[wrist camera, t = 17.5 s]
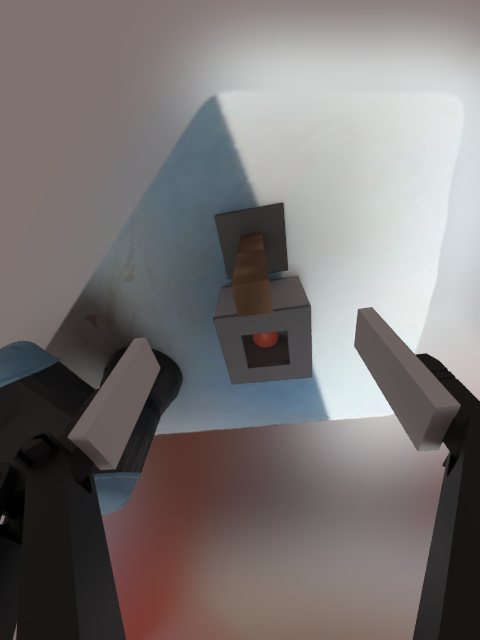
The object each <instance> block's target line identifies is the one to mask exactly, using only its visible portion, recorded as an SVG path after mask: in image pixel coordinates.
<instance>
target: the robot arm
mask: <svg viewBox="0 0 480 640" xmlns="http://www.w3.org/2000/svg"><path fill="white" fill-rule="evenodd" d="M354 346H355V348H356V350H357V351H358V353H359V355H360V356H361V358H362V360H363V361H364V363H365V365H366V366H367V368H368V370H369V371H370V373H371V375H372V376H373V378H374V380H375V381H376V383H377V385H378V386H379V388H380V390H381V391H382V393H383V395H384V396H385V398H386V400H387V401H388V403H389V405H390V406H391V408H392V410H393V411H394V413H395V415H396V416H397V418H398V419H399V421H400V423H401V424H402V426H403V428H404V429H405V431H406V433H407V434H408V436H409V438H410V439H411V441H412V443H413V444H414V446H415V448H416V449H417V451H429V450H439V448H440V446H441V444H442V442H444V444H445V445H446V446H447V448H448V449H449V451H450V452H449V454H448V456H447V458H446V460H445V461H444V463H443V465H442V466H444V467H445V473H444V478H443V483H442V489H441V494H440V499H439V504H438V509H437V515H436V520H435V525H434V531H433V536H432V541H431V546H430V551H429V557H428V562H427V567H426V573H425V578H424V583H423V588H422V594H421V599H420V604H419V609H418V615H417V620H416V625H415V630H414V636H413V640H480V401H479V400H478V399H477V398H476V397H475V396H474V395H473V394H472V393H471V392H470V391H469V390H468V389H467V388H466V387H465V386H464V385H463V384H462V383H461V382H460V381H459V380H458V379H456V378H455V376H454V375H453V374H452V373H451V372H450V371H448V369H447V368H446V367H445V366H444V365H443V364H442V363H441V362H440V361H439V360H437V359H435V358H433V357H432V356H430V355H428V354H417V355H415V354H414V353H413V352H412V351H411V350H410V349H409V347H408V346H407V345H406V344H405V343H404V342H403V341H402V340H401V339H400V337H399V336H398V335H397V334H396V333H395V332H394V331H393V330H392V329H391V328H390V326H389V325H388V324H387V323H386V322H385V321H384V320H383V319H382V318H381V316H380V315H379V314H378V313H377V312H376V311H375V310H374V309H373V308H372V307H370V308H362V309H358V315H357V324H356V334H355V343H354ZM59 361H60V359H59V358H57V357H53V356H52V355H50V354H49V353H48V352H46V351H45V350H43V349H42V348H40V347H39V346H38V345H36V344H34V343H32V342H28V341H18V342H14V343H12V344H10V345H7V346H5V347H3V348H1V349H0V519H1V516H2V515H3V516H5V519H4V522H3V523H2V525H1V524H0V640H13V636H14V632H15V628H16V624H17V635H16V640H126V638H125V633H124V627H123V622H122V617H121V612H120V607H119V602H118V597H117V592H116V587H115V582H114V577H113V572H112V566H111V561H110V556H109V552H108V546H107V542H106V536H105V531H104V526H103V521H102V516H101V515H102V514H108V513H112V512H115V511H117V510H119V509H121V508H122V507H123V506H124V505H125V504H126V503H127V502H128V500H129V499H130V496H131V494H132V492H133V489H134V487H135V485H136V483H137V480H138V479H139V478H140V475H141V471H142V468H143V465H144V462H145V460H146V457H147V454H148V451H149V448H150V445H151V443H152V440H153V437H154V434H155V431H156V428H157V426H158V423H159V420H160V417H161V415H162V414H163V413H164V412H165V410H166V409H167V408H168V406H169V405H170V404H171V402H172V401H173V400H174V399H175V398H176V397H177V395H178V393H179V391H180V388H181V384H182V375H181V372H180V370H179V368H178V366H177V365H176V364H175V363H174V362H173V361H172V360H171V359H170V358H168V357H167V356H165V355H164V354H162V353H160V352H158V351H155V350H152V349H151V347H150V345H149V343H148V341H147V339H146V337H142V338H135V339H134V340H133V341H132V343H131V344H130V346H129V347H128V348H125V349H122V350H120V351H118V352H116V353H115V354H114V355H113V356H112V358H111V359H110V360H109V362H108V363H107V365H106V366H105V369H104V373H103V378H102V381H101V385H100V388H99V389H96V390H95V389H94V388H93V387H91V386H90V385H89V384H87V383H86V382H85V381H83V380H82V379H81V378H80V377H78V376H77V375H76V374H74V373H73V372H72V371H71V370H69V369H68V368H67V367H66V366H64V365H63V364H62V363H61V362H59Z"/></svg>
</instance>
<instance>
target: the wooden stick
mask: <svg viewBox="0 0 480 640" xmlns="http://www.w3.org/2000/svg"><path fill="white" fill-rule="evenodd" d="M231 287H232V291H233V296H234V300H235V305H236V309H237V314H238V317H243V316H251V315H258V314H266V313H273V309H272V301H271V293H270V285H269V277H268V270H267V263H266V257H265V250H264V243H263V236H262V233H257V234H251V235H245V236H240V240H239V246H238V251H237V257H236V262H235V268H234V273H233V279H232V285H231Z"/></svg>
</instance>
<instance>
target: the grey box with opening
mask: <svg viewBox="0 0 480 640" xmlns="http://www.w3.org/2000/svg"><path fill="white" fill-rule="evenodd" d="M269 285H270V293H271V301H272V309H273V313H266V314H258V315H251V316H243V317H238V314H237V309H236V305H235V300H234V296H233V291H232V287H224V288H221V291H220V295H219V299H218V303H217V307H216V311H215V315H214V318H213V320H214V324H215V327H216V331H217V334H218V338H219V341H220V345H221V348H222V352H223V355H224V359H225V362H226V366H227V369H228V373H229V376H230V380H231V383H232V384H243V383H255V382H266V381H277V380H288V379H299V378H311V377H312V335H311V306H310V303H309V301H308V299H307V296H306V294H305V291H304V289H303V287H302V284H301V282H300V280H299V277H292V278H286V279H279V280H272V281H269ZM276 331H277V334H278V340H277V342H276V343H275V344H274V345H273V346H271V347H267V348H264V347H260V346H258V345H256V344H255V342H254V340H253V334H259V333H267V332H276Z"/></svg>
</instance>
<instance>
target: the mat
mask: <svg viewBox="0 0 480 640" xmlns="http://www.w3.org/2000/svg"><path fill="white" fill-rule="evenodd" d="M214 217H215V221H216V226H217V230H218V235H219V239H220V244H221V248H222V253H223V257H224V262H225V266H226V271H227V275H228V279H233V273H234V268H235V262H236V257H237V251H238V246H239V240H240V236H245V235H251V234H257V233H262V236H263V243H264V250H265V257H266V263H267V270H268V273H274V272H280V271H287V270H288V262H287V248H286V234H285V220H284V206H283V203H279V204H274V205H268V206H263V207H258V208H253V209H247V210H242V211H237V212H232V213H226V214H221V215H216V216H214Z"/></svg>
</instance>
